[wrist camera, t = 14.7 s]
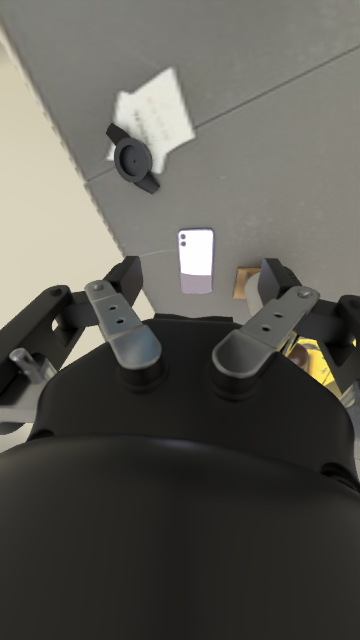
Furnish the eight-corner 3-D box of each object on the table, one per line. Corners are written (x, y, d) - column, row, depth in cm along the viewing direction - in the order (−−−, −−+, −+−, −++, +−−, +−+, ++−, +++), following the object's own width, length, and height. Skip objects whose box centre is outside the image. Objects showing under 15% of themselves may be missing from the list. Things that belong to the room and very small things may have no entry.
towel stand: (275, 343, 23) (260, 381, 28) (342, 348, 22) (316, 386, 27) (245, 264, 41) (239, 294, 46) (282, 265, 41) (272, 296, 45)
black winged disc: (152, 118, 32) (147, 114, 30) (161, 192, 38) (158, 194, 36) (106, 125, 33) (99, 123, 31) (123, 196, 39) (118, 198, 37)
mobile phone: (181, 294, 50) (176, 230, 41) (181, 292, 51) (177, 229, 42) (211, 294, 49) (214, 229, 40) (211, 292, 50) (214, 227, 41)
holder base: (237, 267, 45) (240, 277, 41) (279, 268, 44) (286, 279, 40) (232, 295, 50) (235, 307, 46) (270, 297, 49) (276, 310, 45)
